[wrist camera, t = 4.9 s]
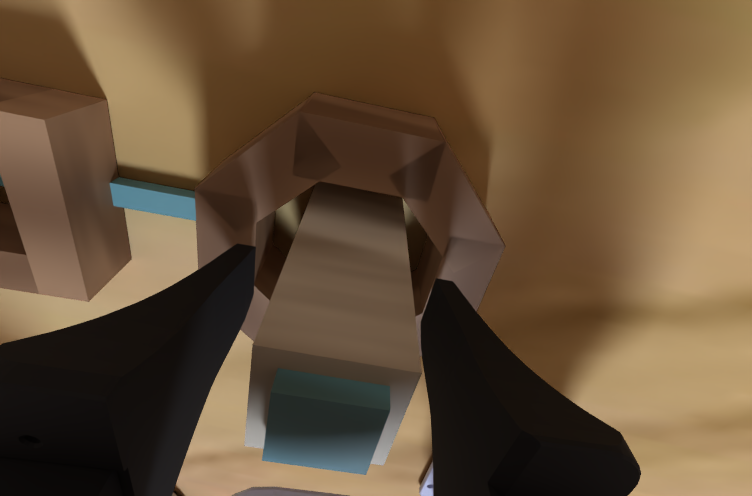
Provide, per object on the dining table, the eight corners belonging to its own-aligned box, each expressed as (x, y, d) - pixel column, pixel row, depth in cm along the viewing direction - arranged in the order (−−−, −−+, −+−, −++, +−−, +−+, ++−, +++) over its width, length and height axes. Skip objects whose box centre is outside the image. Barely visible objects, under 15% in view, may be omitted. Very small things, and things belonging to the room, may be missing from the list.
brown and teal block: (382, 267, 18) (383, 490, 9) (306, 252, 17) (236, 470, 9) (402, 197, 16) (424, 397, 8) (317, 180, 15) (243, 368, 7)
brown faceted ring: (435, 337, 20) (443, 386, 17) (226, 303, 19) (202, 350, 16) (514, 134, 14) (543, 161, 12) (226, 72, 13) (189, 87, 11)
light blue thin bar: (208, 215, 16) (202, 221, 16) (-75, 163, 15) (-91, 169, 15) (207, 193, 16) (202, 200, 15) (-86, 139, 15) (-103, 143, 14)
